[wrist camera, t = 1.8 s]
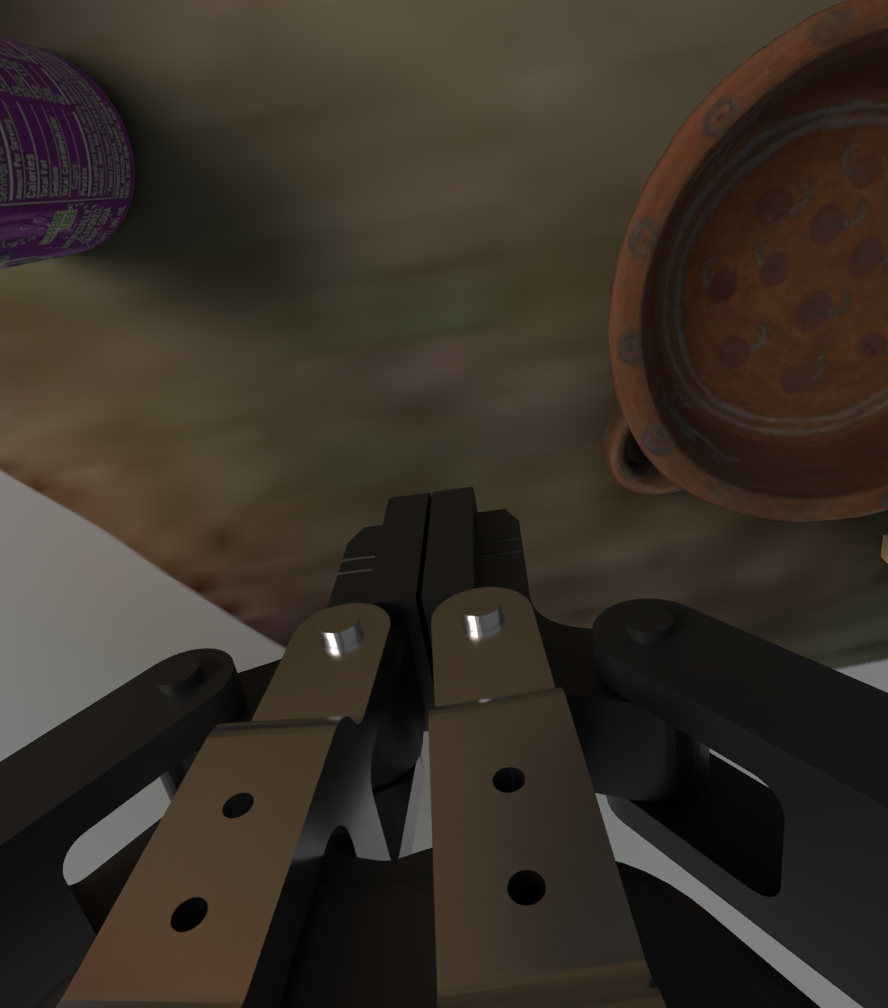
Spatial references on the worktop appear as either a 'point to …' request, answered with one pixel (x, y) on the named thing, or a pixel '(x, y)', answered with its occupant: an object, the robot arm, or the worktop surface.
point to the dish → (764, 286)
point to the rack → (885, 548)
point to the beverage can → (57, 158)
